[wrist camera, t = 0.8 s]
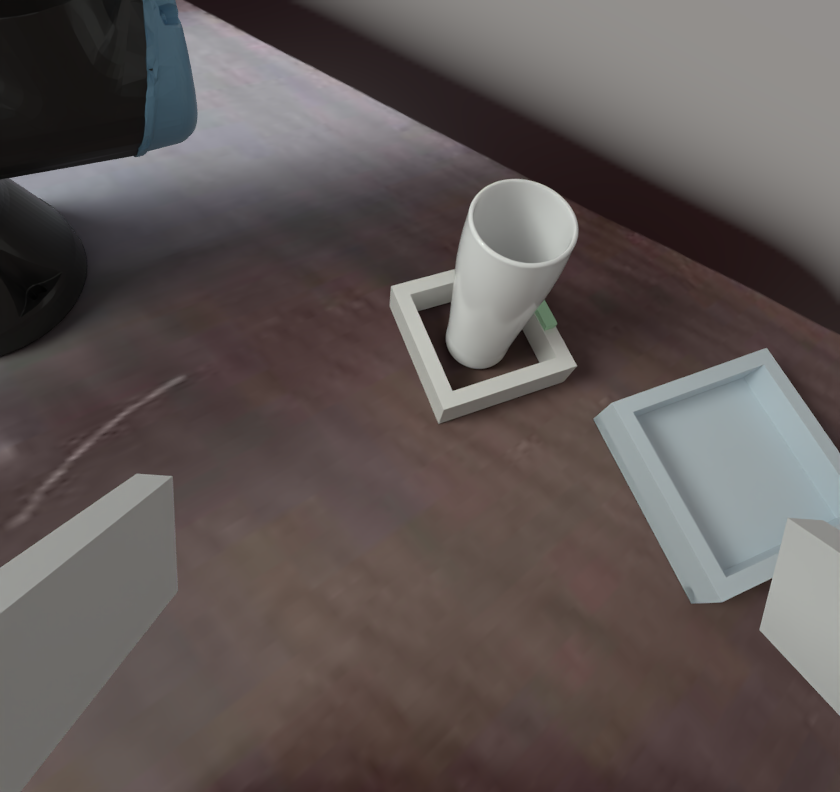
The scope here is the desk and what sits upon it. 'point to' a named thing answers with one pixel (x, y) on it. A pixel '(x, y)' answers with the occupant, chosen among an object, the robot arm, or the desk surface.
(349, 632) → the desk surface
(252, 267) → the desk surface
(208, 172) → the desk surface
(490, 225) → the drinking glass
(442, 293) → the frame
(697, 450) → the tray
